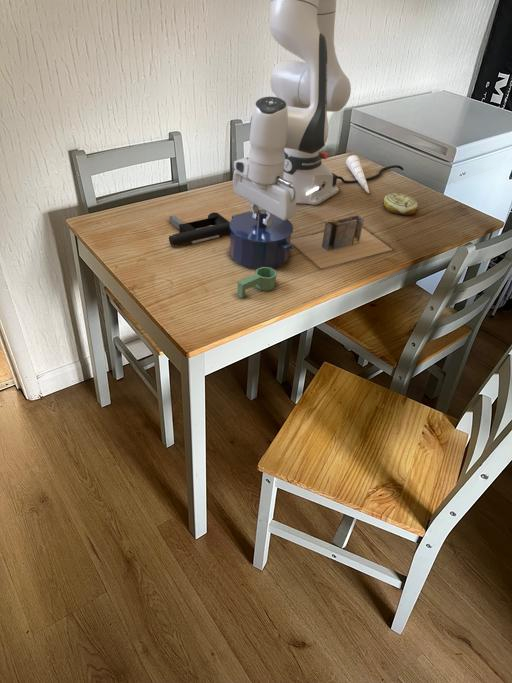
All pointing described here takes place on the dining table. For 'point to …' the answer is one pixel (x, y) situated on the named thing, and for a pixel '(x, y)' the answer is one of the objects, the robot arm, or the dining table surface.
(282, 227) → the lid
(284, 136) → the robot arm
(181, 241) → the door handle
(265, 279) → the scoop
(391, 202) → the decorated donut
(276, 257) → the pot
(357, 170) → the unicorn horn
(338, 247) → the ruin model on sheet
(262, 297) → the dining table surface
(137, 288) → the dining table surface
